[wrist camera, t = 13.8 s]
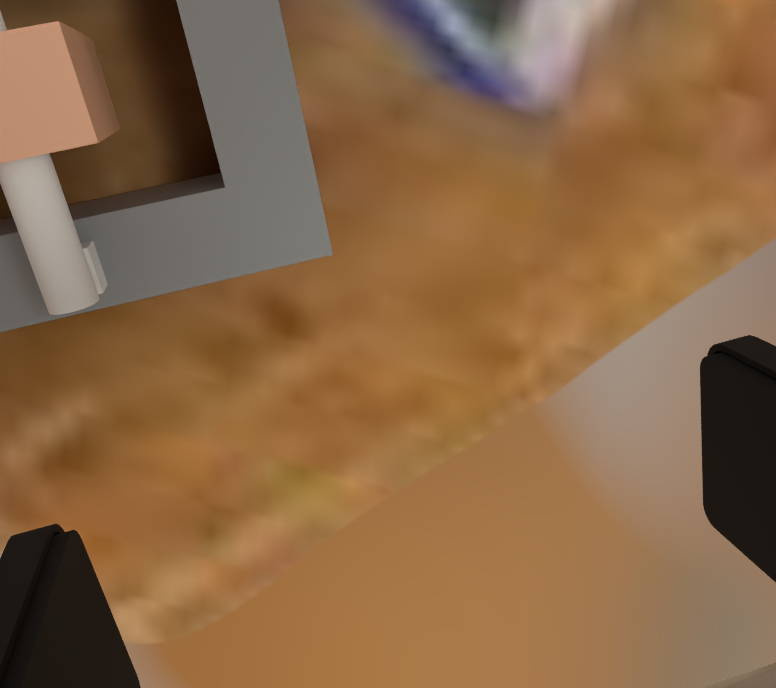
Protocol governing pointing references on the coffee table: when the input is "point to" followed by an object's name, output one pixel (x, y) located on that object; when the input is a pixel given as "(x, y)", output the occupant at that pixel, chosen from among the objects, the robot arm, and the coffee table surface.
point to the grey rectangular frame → (177, 190)
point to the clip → (51, 92)
